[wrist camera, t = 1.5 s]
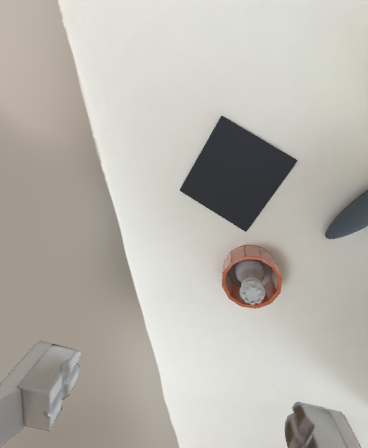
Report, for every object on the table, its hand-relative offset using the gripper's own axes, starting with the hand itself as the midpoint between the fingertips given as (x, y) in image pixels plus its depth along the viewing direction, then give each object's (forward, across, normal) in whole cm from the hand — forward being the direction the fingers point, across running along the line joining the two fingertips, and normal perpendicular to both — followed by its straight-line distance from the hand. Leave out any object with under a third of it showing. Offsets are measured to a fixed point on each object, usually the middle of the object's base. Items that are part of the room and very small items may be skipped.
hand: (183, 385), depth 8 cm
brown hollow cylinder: (+27, +10, -8) cm, 29 cm away
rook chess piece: (+27, +10, -8) cm, 30 cm away
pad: (+28, +4, +5) cm, 29 cm away
